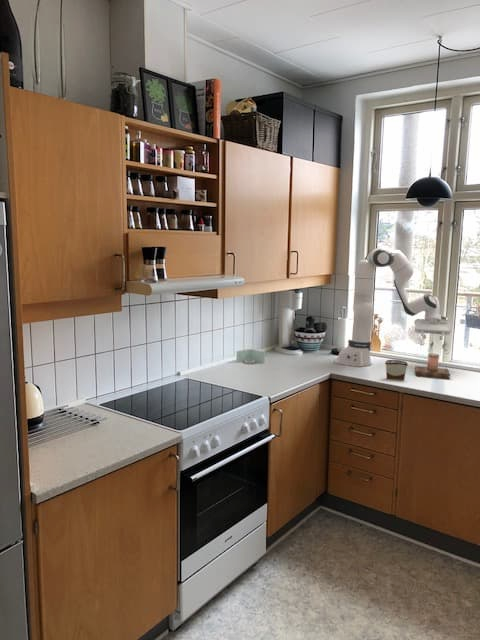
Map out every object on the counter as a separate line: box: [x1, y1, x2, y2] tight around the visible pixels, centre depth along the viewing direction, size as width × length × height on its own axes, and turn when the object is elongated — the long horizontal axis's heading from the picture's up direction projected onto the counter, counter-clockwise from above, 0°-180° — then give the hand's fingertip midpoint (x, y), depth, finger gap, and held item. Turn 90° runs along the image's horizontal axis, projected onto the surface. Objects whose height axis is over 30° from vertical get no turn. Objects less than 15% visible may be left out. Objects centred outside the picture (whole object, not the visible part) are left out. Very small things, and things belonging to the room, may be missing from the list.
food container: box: [384, 359, 409, 381], centre depth 282 cm, size 12×6×10 cm, turn 84°
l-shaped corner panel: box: [236, 348, 266, 365], centre depth 308 cm, size 12×12×8 cm
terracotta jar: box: [426, 353, 440, 371], centre depth 292 cm, size 6×6×9 cm
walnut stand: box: [414, 365, 451, 380], centre depth 293 cm, size 18×13×3 cm
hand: (432, 338), depth 302 cm, fingers open, 8 cm apart
